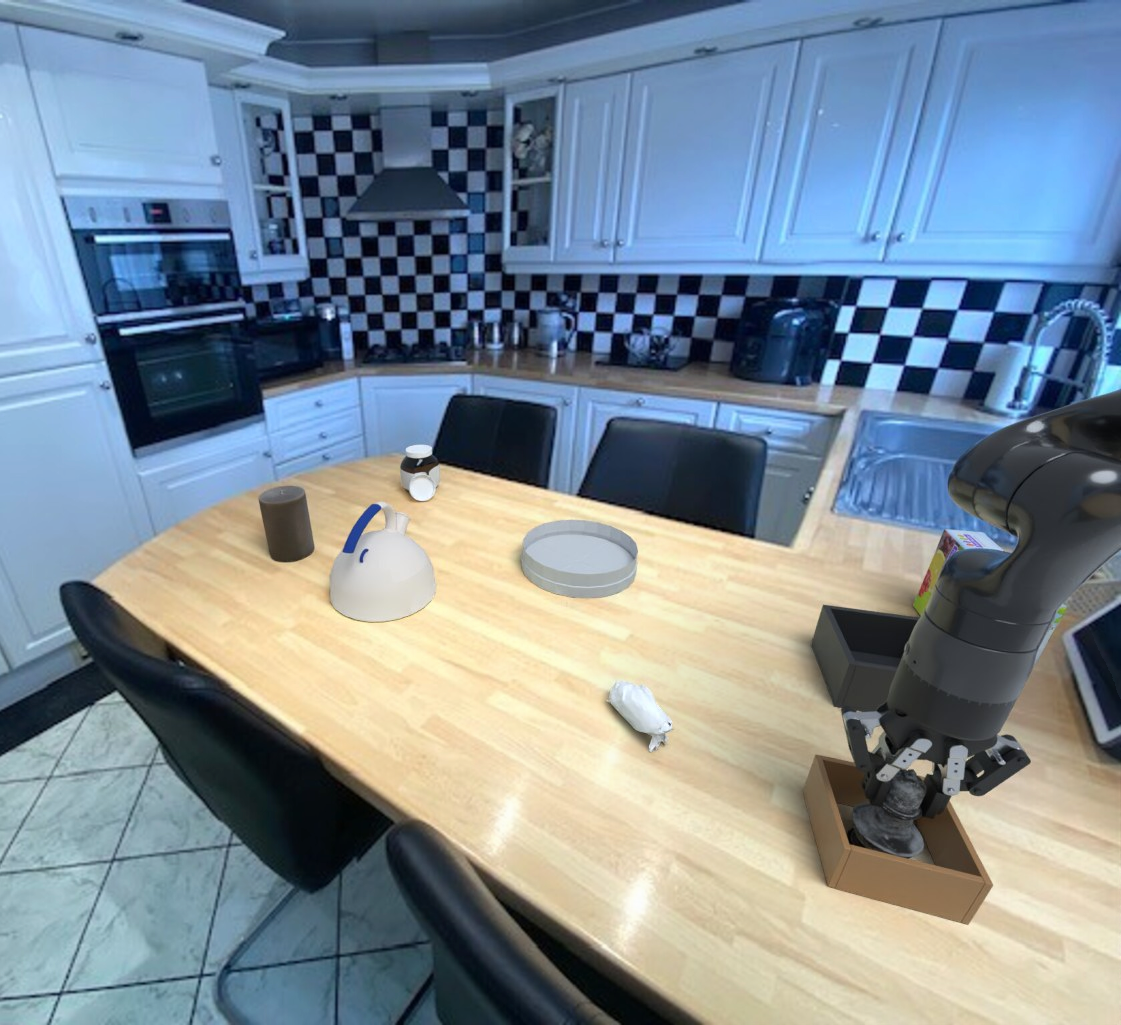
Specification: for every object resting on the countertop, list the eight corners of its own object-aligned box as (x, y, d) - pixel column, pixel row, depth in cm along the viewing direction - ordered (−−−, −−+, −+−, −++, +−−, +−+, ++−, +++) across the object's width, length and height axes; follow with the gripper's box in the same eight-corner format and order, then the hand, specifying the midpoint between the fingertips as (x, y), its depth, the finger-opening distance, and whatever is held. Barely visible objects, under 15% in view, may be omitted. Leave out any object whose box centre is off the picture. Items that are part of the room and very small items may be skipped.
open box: (916, 660, 83) (933, 619, 79) (959, 729, 71) (980, 684, 68) (810, 644, 87) (822, 604, 84) (834, 706, 76) (849, 663, 72)
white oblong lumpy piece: (678, 743, 73) (628, 682, 80) (688, 718, 68) (634, 656, 75) (647, 761, 72) (599, 697, 79) (655, 737, 67) (603, 672, 74)
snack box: (1022, 700, 75) (1072, 607, 68) (970, 691, 77) (1014, 600, 70) (950, 610, 93) (984, 529, 86) (909, 604, 95) (940, 525, 88)
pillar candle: (292, 566, 116) (280, 501, 110) (260, 555, 121) (246, 492, 114) (324, 546, 123) (314, 483, 117) (292, 536, 128) (281, 476, 122)
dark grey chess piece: (867, 816, 61) (901, 736, 56) (926, 865, 56) (969, 783, 51) (829, 836, 60) (860, 756, 54) (886, 889, 55) (927, 806, 49)
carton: (920, 817, 61) (939, 779, 58) (969, 924, 51) (993, 885, 49) (802, 790, 64) (815, 753, 62) (827, 886, 55) (844, 847, 52)
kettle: (454, 573, 111) (451, 489, 103) (405, 634, 94) (397, 540, 86) (366, 555, 119) (357, 476, 111) (307, 609, 102) (291, 520, 94)
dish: (498, 567, 112) (498, 545, 110) (565, 530, 125) (566, 509, 123) (592, 613, 97) (594, 589, 94) (658, 565, 110) (661, 543, 107)
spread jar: (426, 481, 155) (424, 441, 149) (454, 492, 147) (452, 450, 142) (391, 493, 148) (388, 452, 143) (418, 506, 140) (415, 462, 135)
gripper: (875, 681, 47) (823, 818, 54) (1099, 718, 42) (1009, 862, 50) (849, 627, 53) (806, 757, 60) (1041, 655, 48) (969, 791, 56)
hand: (898, 803), depth 55 cm, fingers closed on dark grey chess piece, 3 cm apart
